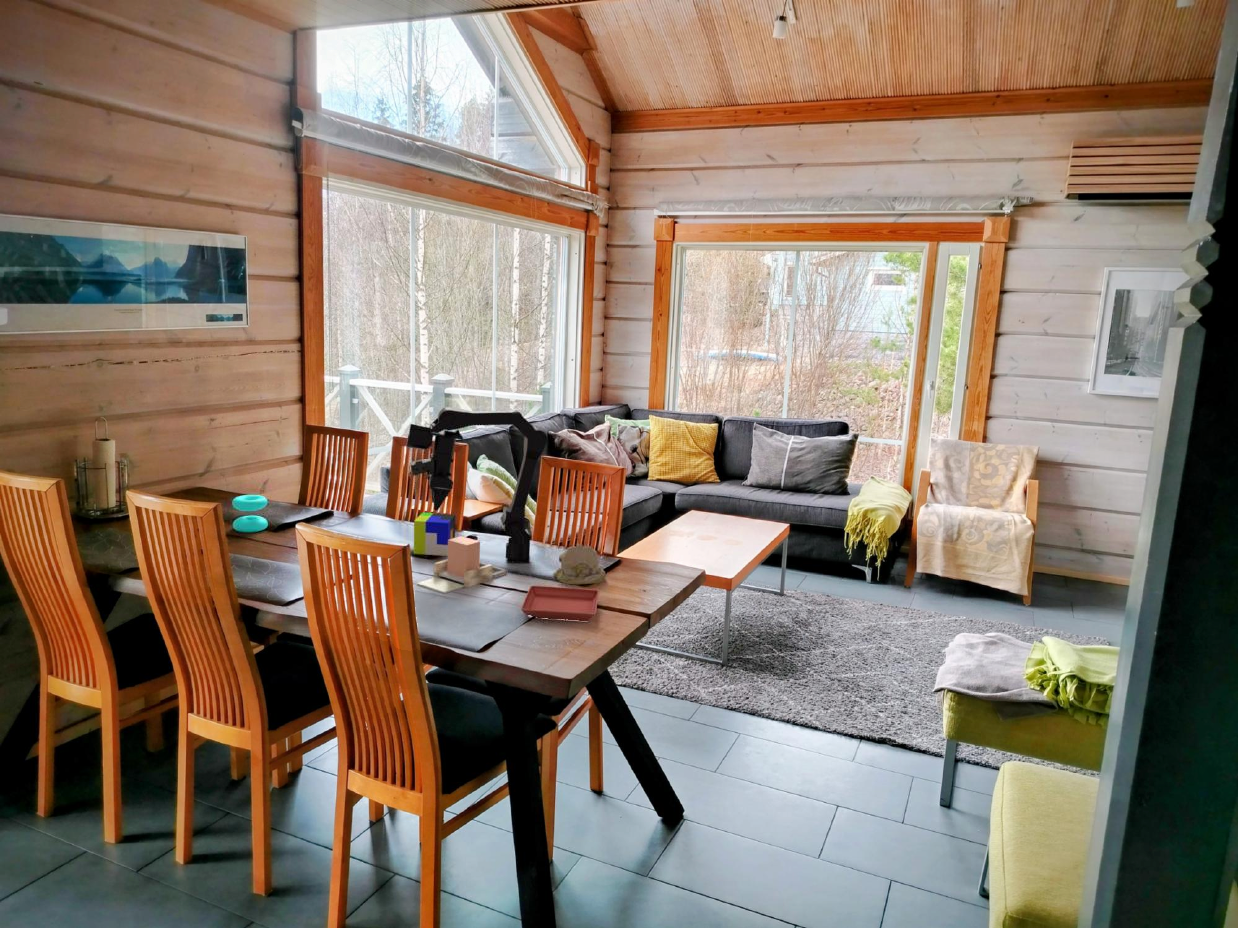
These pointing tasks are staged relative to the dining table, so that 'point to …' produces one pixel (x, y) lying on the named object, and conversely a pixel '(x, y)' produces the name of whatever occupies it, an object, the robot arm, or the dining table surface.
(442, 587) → the pad
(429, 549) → the puzzle toy
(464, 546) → the block sled
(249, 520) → the donuts
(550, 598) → the plant saucer
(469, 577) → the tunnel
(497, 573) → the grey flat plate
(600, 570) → the ceramic model
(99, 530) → the dining table surface
